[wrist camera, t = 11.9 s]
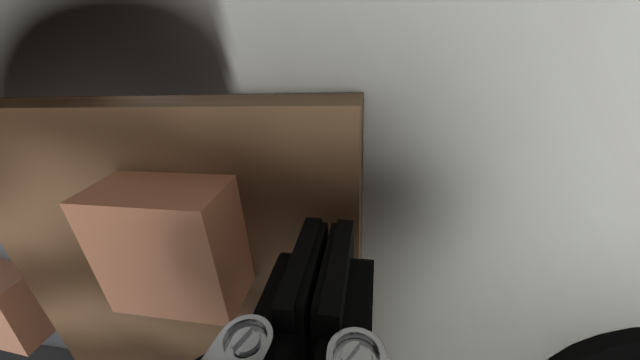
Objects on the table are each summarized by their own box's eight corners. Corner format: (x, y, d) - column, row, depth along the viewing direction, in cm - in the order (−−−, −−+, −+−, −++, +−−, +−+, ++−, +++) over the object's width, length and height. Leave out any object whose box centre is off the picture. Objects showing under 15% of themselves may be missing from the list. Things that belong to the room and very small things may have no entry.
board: (359, 387, 19) (357, 424, 17) (109, 349, 22) (86, 377, 21) (363, 92, 11) (360, 105, 9) (-28, 98, 14) (-86, 108, 13)
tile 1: (254, 277, 14) (230, 327, 11) (153, 268, 14) (113, 311, 12) (235, 175, 11) (200, 211, 9) (117, 170, 12) (59, 203, 10)
